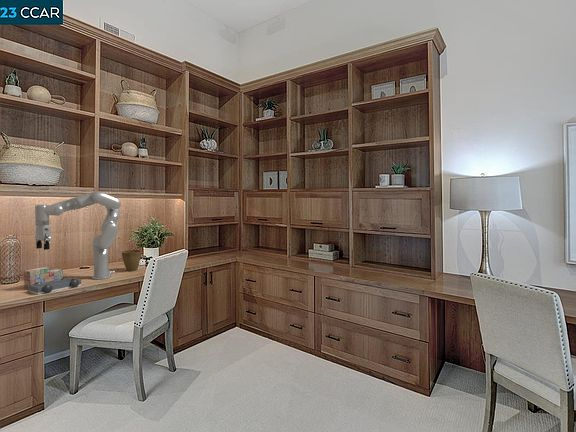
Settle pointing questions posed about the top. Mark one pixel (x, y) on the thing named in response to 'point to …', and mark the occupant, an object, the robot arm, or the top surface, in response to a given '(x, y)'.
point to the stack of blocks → (41, 276)
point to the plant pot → (131, 259)
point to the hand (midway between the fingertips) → (42, 248)
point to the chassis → (54, 285)
